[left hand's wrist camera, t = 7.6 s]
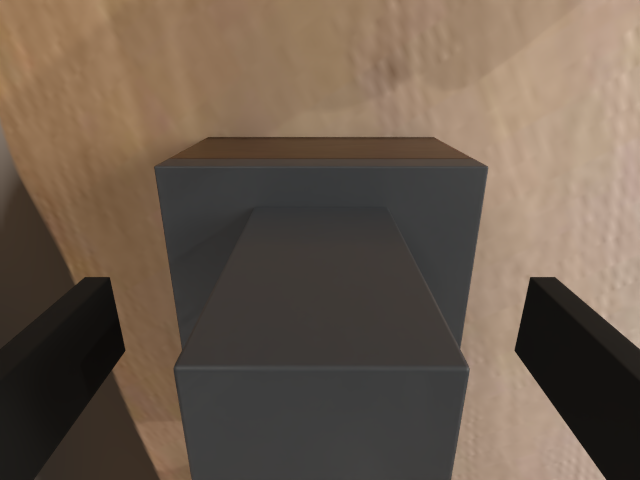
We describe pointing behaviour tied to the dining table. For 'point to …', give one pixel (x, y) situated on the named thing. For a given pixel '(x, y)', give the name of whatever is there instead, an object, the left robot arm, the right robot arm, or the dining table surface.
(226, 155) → the box
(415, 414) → the lid
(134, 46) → the dining table surface
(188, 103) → the dining table surface
